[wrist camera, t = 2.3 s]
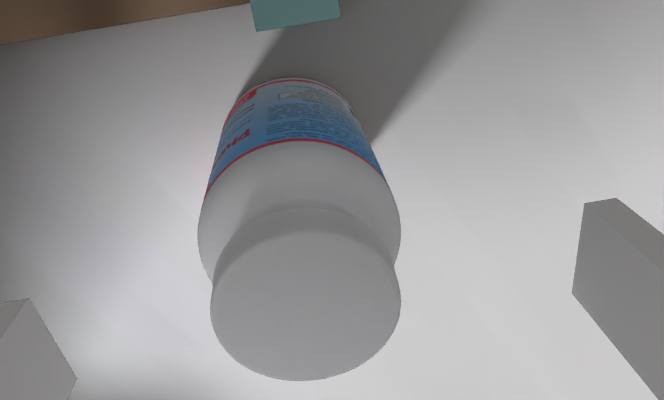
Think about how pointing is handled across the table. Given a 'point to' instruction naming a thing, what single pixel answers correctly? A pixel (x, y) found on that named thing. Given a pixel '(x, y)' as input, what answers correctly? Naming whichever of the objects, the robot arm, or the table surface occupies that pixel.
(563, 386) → the table surface
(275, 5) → the sliding jaw
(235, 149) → the pill bottle
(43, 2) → the clamp board
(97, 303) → the table surface
